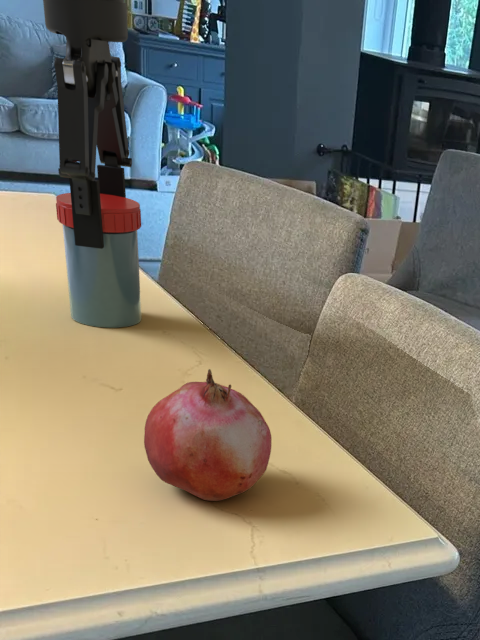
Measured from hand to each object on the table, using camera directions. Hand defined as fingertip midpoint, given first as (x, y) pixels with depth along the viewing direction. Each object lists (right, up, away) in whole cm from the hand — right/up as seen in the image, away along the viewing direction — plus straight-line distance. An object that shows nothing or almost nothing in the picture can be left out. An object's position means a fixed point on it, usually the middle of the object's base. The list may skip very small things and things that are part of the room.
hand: (102, 237), depth 97 cm
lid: (0, +3, -2) cm, 3 cm away
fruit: (+19, -31, -27) cm, 45 cm away
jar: (-1, -7, +5) cm, 9 cm away
